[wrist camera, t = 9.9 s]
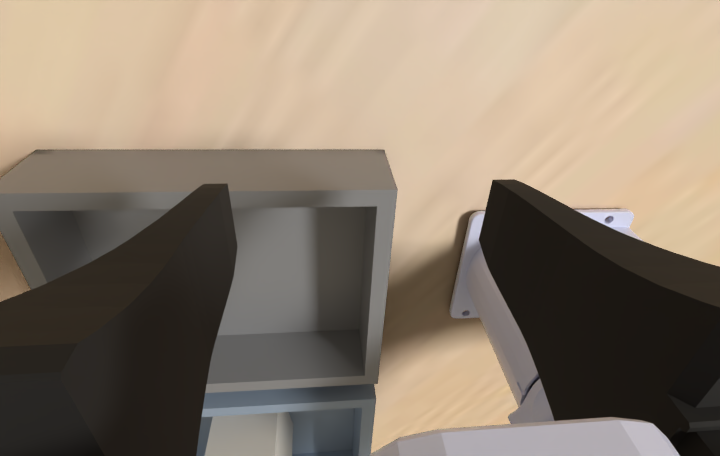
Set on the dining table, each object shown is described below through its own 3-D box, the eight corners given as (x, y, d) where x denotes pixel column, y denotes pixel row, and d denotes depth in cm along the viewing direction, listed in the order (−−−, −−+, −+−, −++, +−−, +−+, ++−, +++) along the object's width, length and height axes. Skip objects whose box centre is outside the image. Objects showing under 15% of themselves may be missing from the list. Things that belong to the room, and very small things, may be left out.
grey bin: (384, 149, 21) (397, 189, 18) (369, 331, 28) (377, 383, 25) (36, 150, 19) (-20, 193, 16) (116, 342, 27) (89, 399, 24)
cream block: (279, 389, 30) (273, 477, 25) (293, 424, 33) (289, 510, 28) (216, 399, 30) (197, 490, 25) (235, 433, 33) (221, 521, 28)
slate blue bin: (368, 346, 29) (375, 399, 26) (360, 448, 37) (365, 499, 33) (122, 358, 28) (97, 415, 24) (166, 462, 35) (151, 516, 32)
